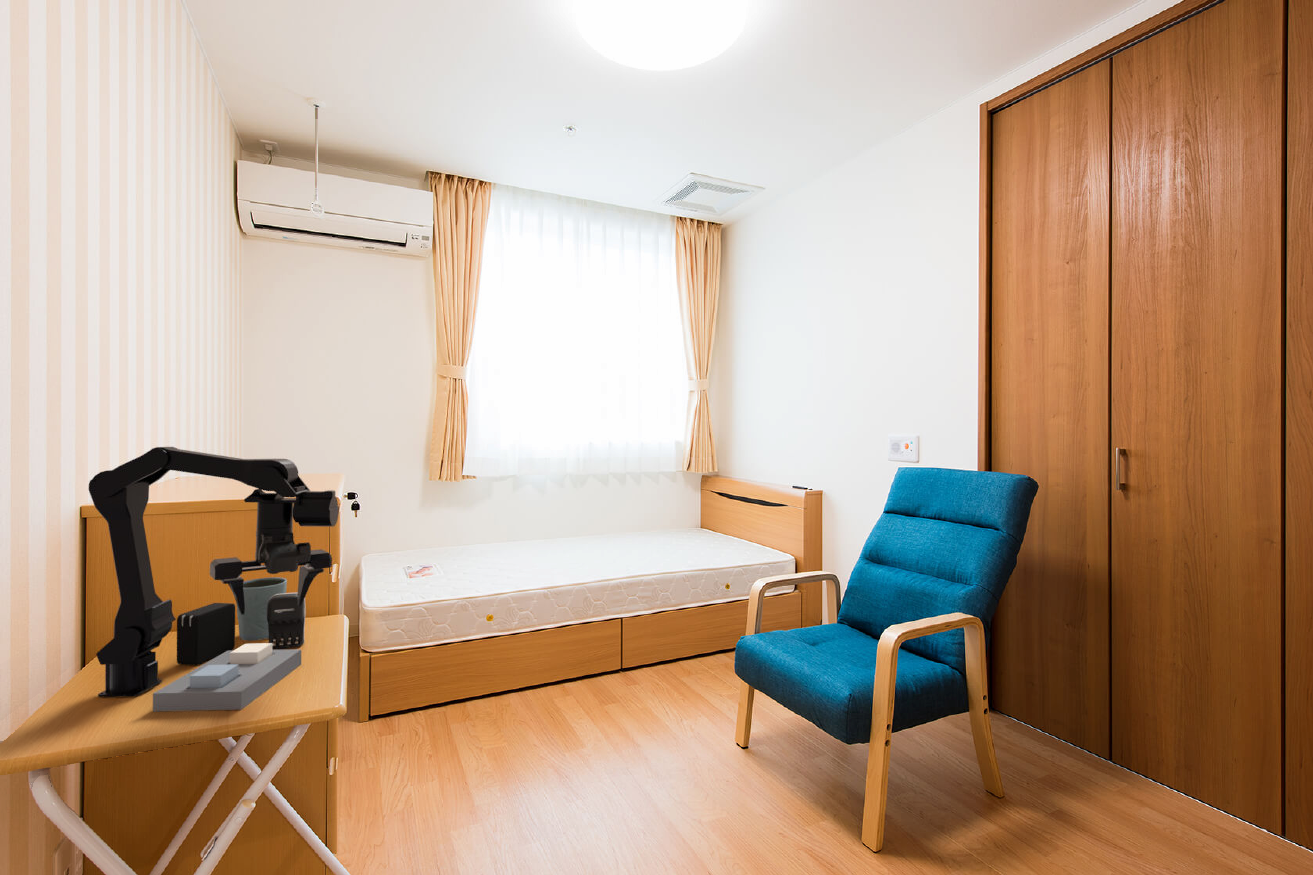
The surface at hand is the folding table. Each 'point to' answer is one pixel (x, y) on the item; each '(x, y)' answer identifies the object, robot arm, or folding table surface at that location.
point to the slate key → (214, 676)
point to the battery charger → (285, 621)
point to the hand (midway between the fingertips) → (271, 609)
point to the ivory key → (251, 653)
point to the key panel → (233, 694)
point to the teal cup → (258, 606)
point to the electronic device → (205, 633)
